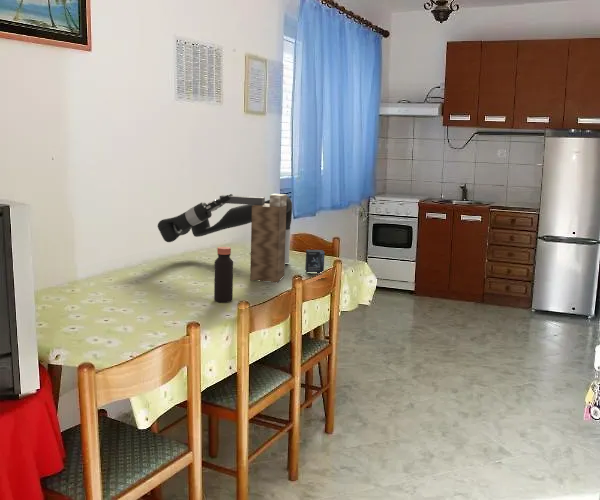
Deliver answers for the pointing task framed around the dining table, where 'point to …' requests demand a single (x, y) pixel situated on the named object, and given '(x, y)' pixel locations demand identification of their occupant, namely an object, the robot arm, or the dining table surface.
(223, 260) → the bottle
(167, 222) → the robot arm
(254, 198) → the dark grey matte block
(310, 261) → the box
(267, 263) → the stand
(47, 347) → the dining table surface
